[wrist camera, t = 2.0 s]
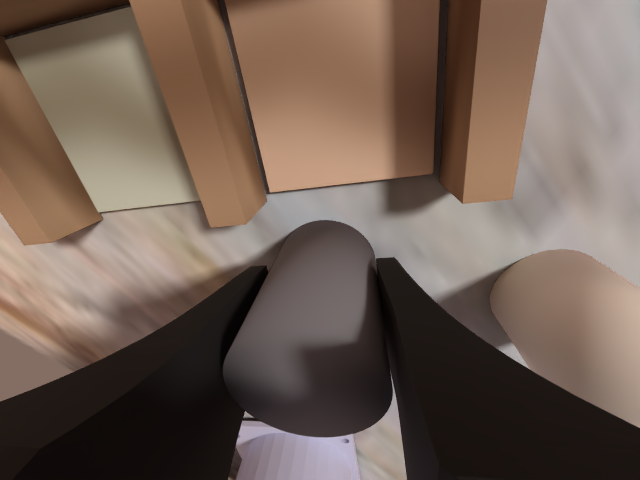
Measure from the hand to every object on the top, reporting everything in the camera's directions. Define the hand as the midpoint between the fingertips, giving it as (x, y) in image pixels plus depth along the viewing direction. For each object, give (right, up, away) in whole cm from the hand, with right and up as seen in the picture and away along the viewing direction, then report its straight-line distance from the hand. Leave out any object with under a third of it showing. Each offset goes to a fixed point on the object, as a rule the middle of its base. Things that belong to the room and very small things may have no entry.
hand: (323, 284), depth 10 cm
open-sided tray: (-3, +6, -1) cm, 7 cm away
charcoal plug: (0, +1, +1) cm, 1 cm away
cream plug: (+9, 0, +1) cm, 9 cm away
